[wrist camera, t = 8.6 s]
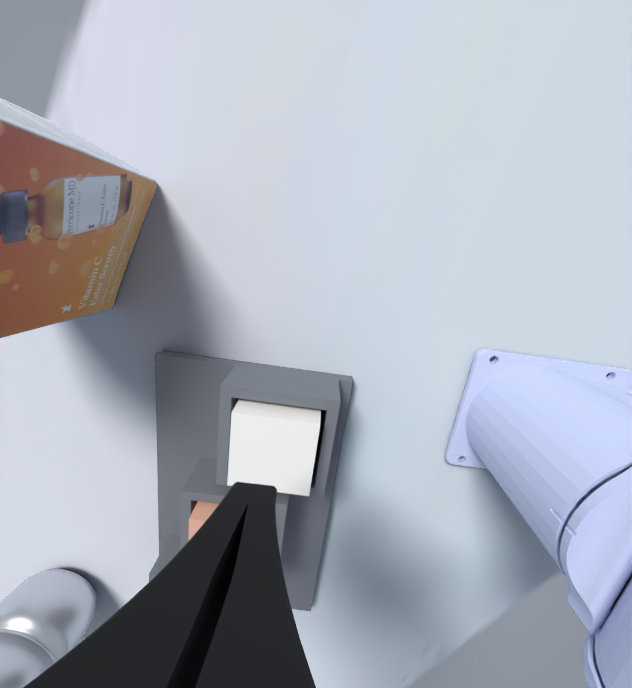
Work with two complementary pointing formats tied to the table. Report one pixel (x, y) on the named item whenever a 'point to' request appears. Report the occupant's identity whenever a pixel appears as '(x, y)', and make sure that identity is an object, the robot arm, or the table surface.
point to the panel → (213, 452)
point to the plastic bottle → (42, 623)
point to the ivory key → (273, 445)
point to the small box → (62, 222)
